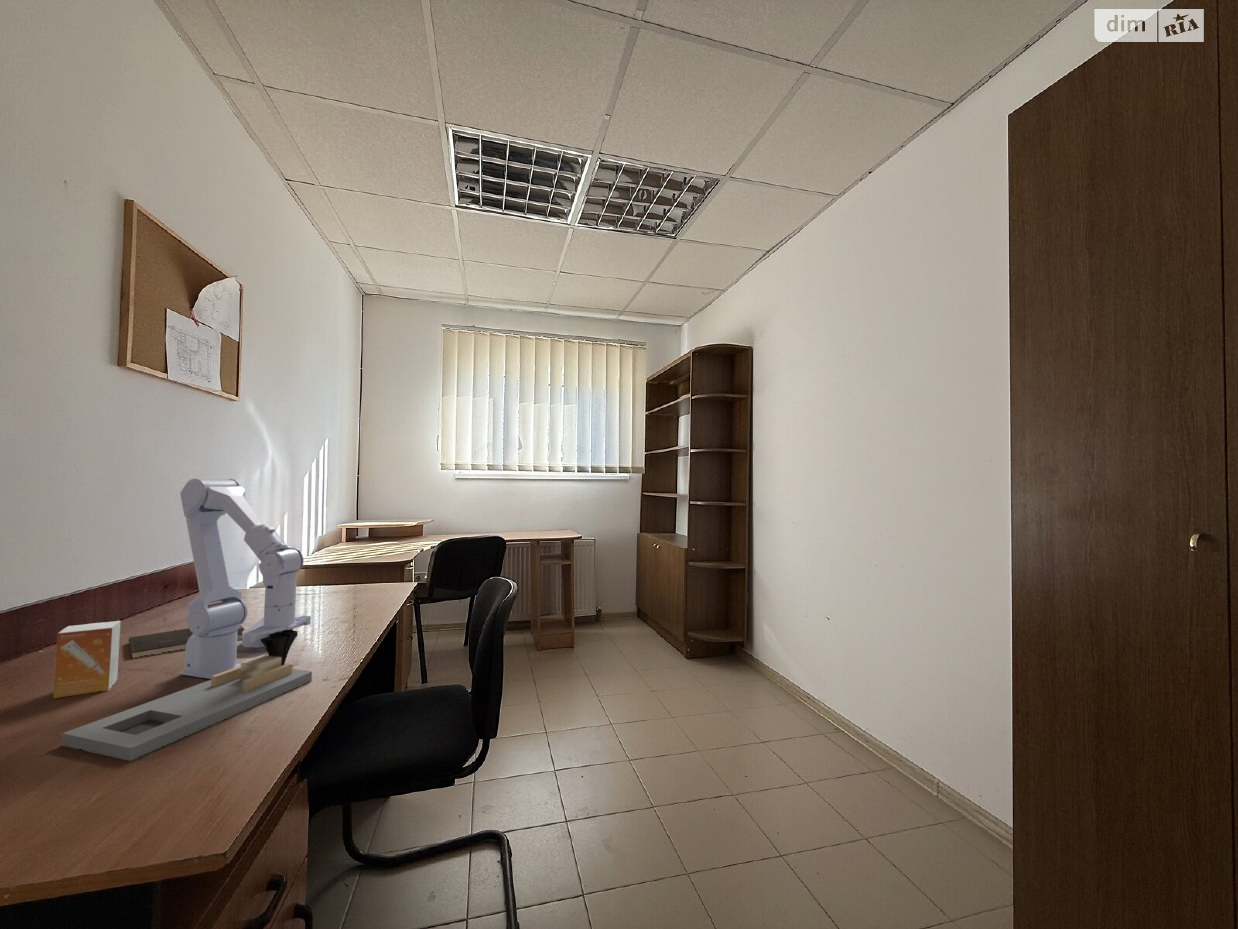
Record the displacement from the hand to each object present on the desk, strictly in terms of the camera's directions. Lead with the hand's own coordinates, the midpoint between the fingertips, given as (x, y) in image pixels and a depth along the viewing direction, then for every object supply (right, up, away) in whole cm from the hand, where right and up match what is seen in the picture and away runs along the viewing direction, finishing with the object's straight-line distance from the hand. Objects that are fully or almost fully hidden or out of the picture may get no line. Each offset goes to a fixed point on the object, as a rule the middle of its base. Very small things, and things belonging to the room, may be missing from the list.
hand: (277, 666), depth 111 cm
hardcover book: (-41, -4, +25) cm, 48 cm away
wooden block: (-1, -1, -4) cm, 4 cm away
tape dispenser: (-20, -4, +23) cm, 31 cm away
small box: (-35, -2, -7) cm, 36 cm away
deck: (-4, -2, -15) cm, 15 cm away
